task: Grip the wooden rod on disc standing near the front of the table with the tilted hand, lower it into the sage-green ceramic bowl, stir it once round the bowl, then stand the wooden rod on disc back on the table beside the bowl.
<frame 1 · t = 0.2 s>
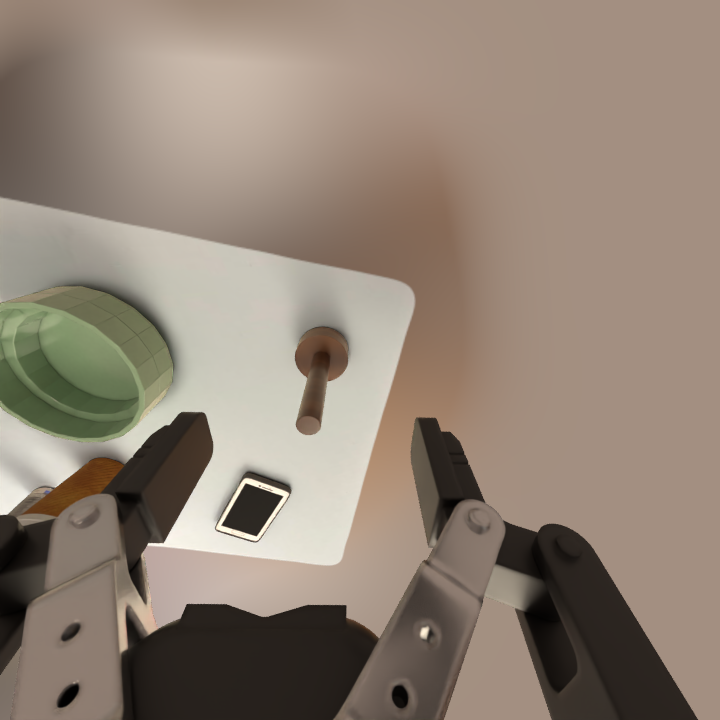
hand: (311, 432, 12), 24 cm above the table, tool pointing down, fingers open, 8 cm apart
wooden rod on disc: (323, 349, 37), on the table
pill bottle: (51, 495, 48), on the table
disposable coffee cup: (110, 471, 46), on the table
cell phone: (253, 505, 50), on the table
mixing bowl: (105, 352, 36), on the table
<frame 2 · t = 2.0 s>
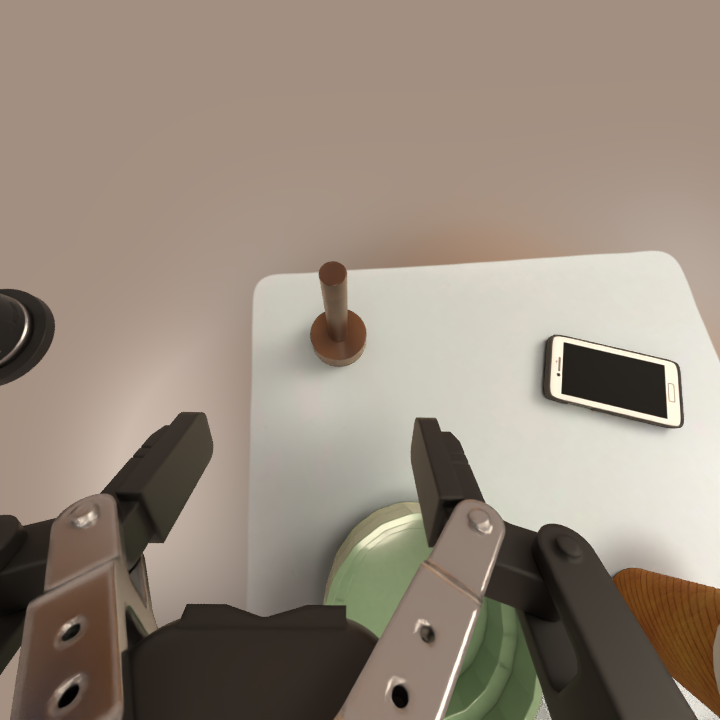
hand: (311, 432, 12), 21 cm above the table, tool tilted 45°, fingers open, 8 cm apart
wooden rod on disc: (339, 341, 35), on the table
disposable coffee cup: (639, 605, 29), on the table
cell phone: (607, 381, 35), on the table
mixing bowl: (414, 596, 28), on the table
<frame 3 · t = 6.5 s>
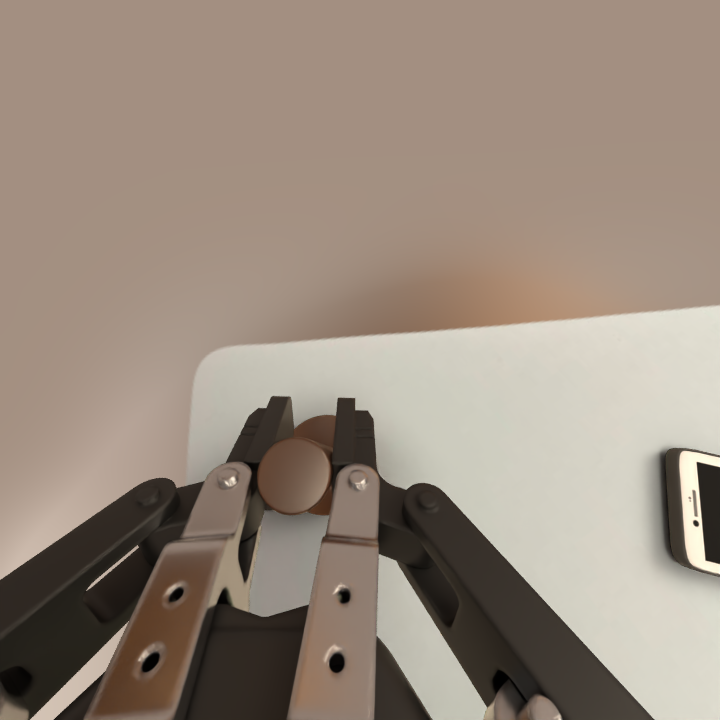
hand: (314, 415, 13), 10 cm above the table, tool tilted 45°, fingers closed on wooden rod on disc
wooden rod on disc: (329, 461, 22), on the table, touching gripper
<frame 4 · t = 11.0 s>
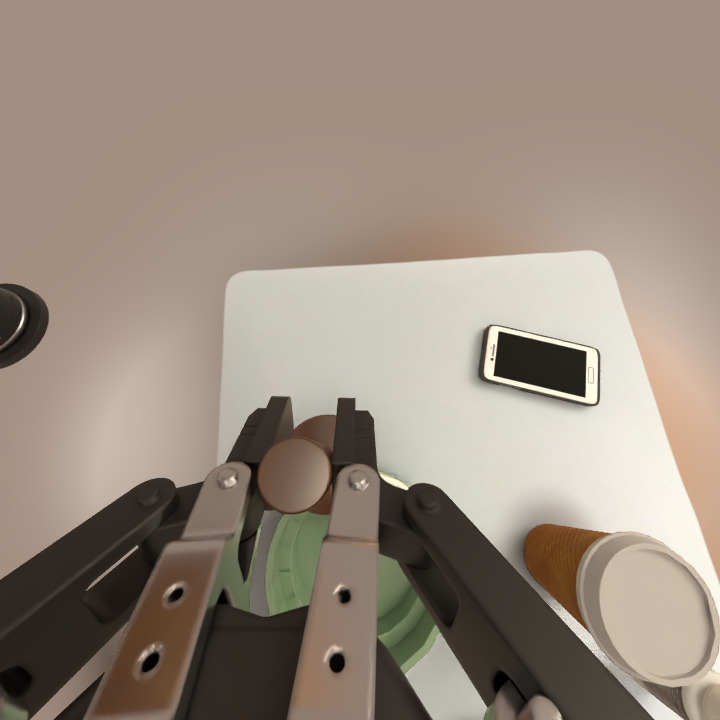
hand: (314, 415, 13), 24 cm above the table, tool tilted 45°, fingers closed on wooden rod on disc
wooden rod on disc: (329, 461, 22), point 14 cm above the table, touching gripper
pill bottle: (643, 656, 31), on the table
disposable coffee cup: (551, 555, 33), on the table
cell phone: (536, 365, 39), on the table
mixing bowl: (357, 547, 33), on the table
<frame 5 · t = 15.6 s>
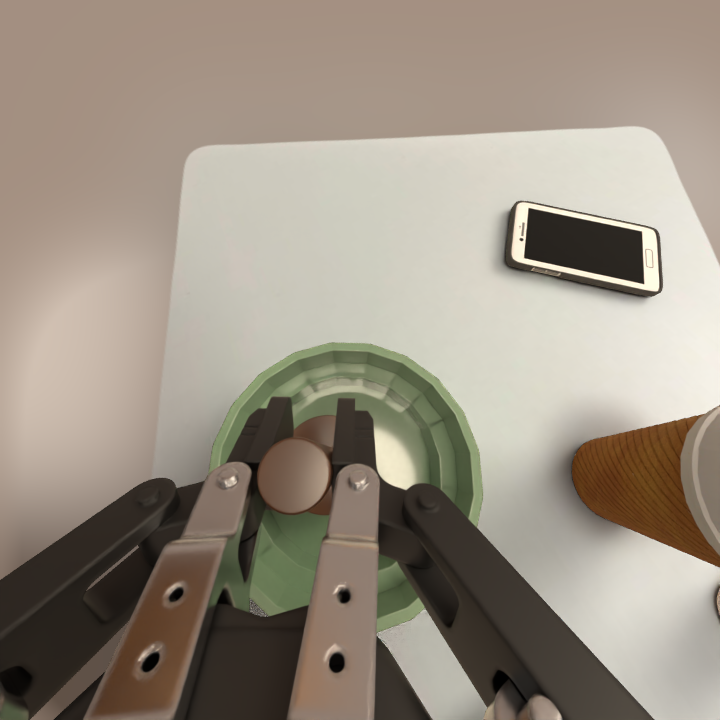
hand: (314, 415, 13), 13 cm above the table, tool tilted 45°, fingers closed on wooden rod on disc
wooden rod on disc: (329, 461, 22), point 3 cm above the table, touching gripper
disposable coffee cup: (608, 478, 25), on the table
cell phone: (577, 251, 31), on the table
mixing bowl: (347, 466, 24), on the table
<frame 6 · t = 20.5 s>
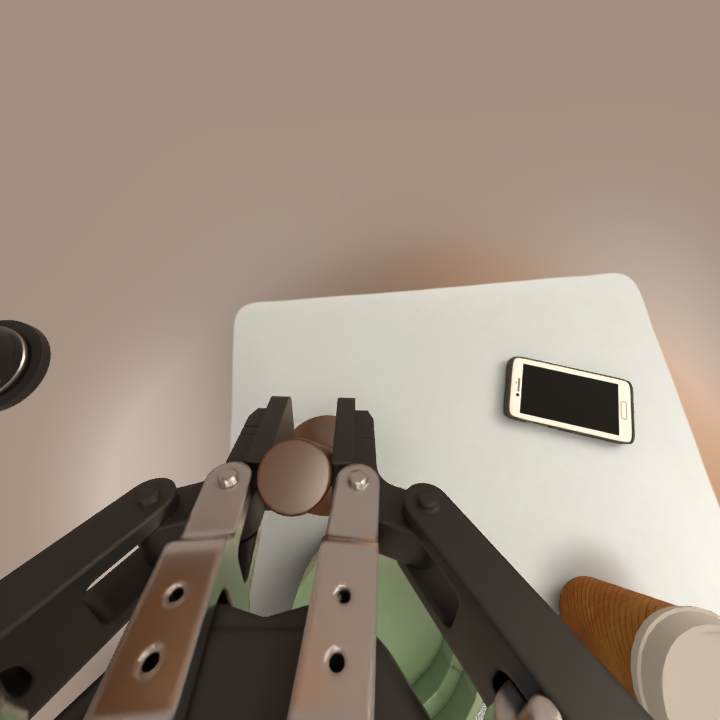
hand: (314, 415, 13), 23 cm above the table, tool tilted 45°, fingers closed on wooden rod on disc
wooden rod on disc: (329, 462, 22), point 14 cm above the table, touching gripper
disposable coffee cup: (588, 611, 31), on the table
cell phone: (564, 399, 37), on the table
mixing bowl: (380, 605, 31), on the table
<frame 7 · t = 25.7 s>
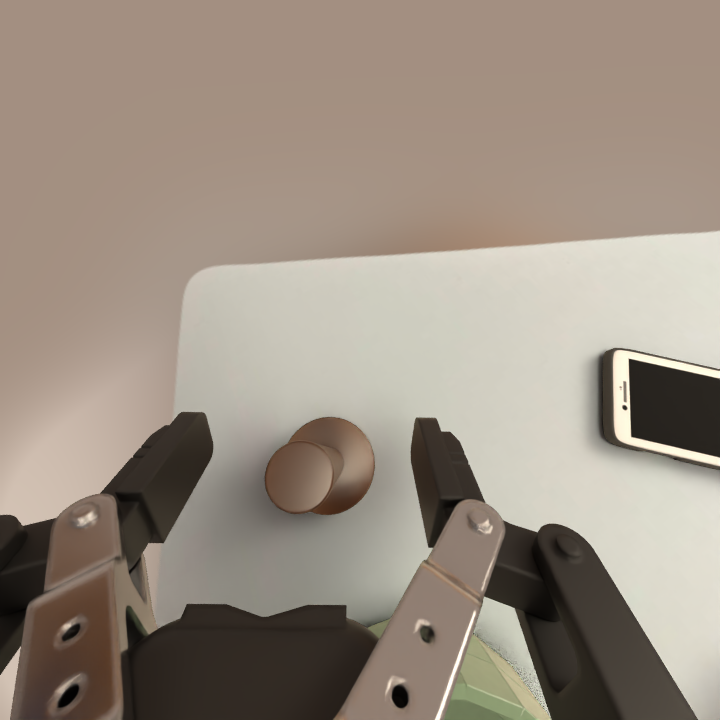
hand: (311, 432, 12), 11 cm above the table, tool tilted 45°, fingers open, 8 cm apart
wooden rod on disc: (330, 462, 22), on the table
cell phone: (693, 415, 24), on the table
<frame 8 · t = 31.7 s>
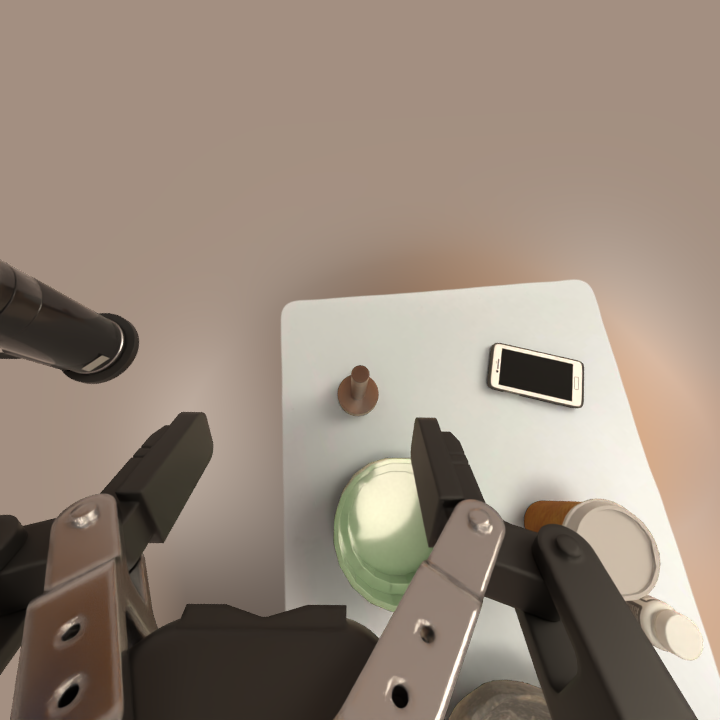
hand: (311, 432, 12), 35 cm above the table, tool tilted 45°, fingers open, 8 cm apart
wooden rod on disc: (357, 396, 47), on the table
pill bottle: (617, 600, 40), on the table
disposable coffee cup: (545, 524, 43), on the table
cell phone: (533, 375, 49), on the table
mixing bowl: (394, 519, 42), on the table
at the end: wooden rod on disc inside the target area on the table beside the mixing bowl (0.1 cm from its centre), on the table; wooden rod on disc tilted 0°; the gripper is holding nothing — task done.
